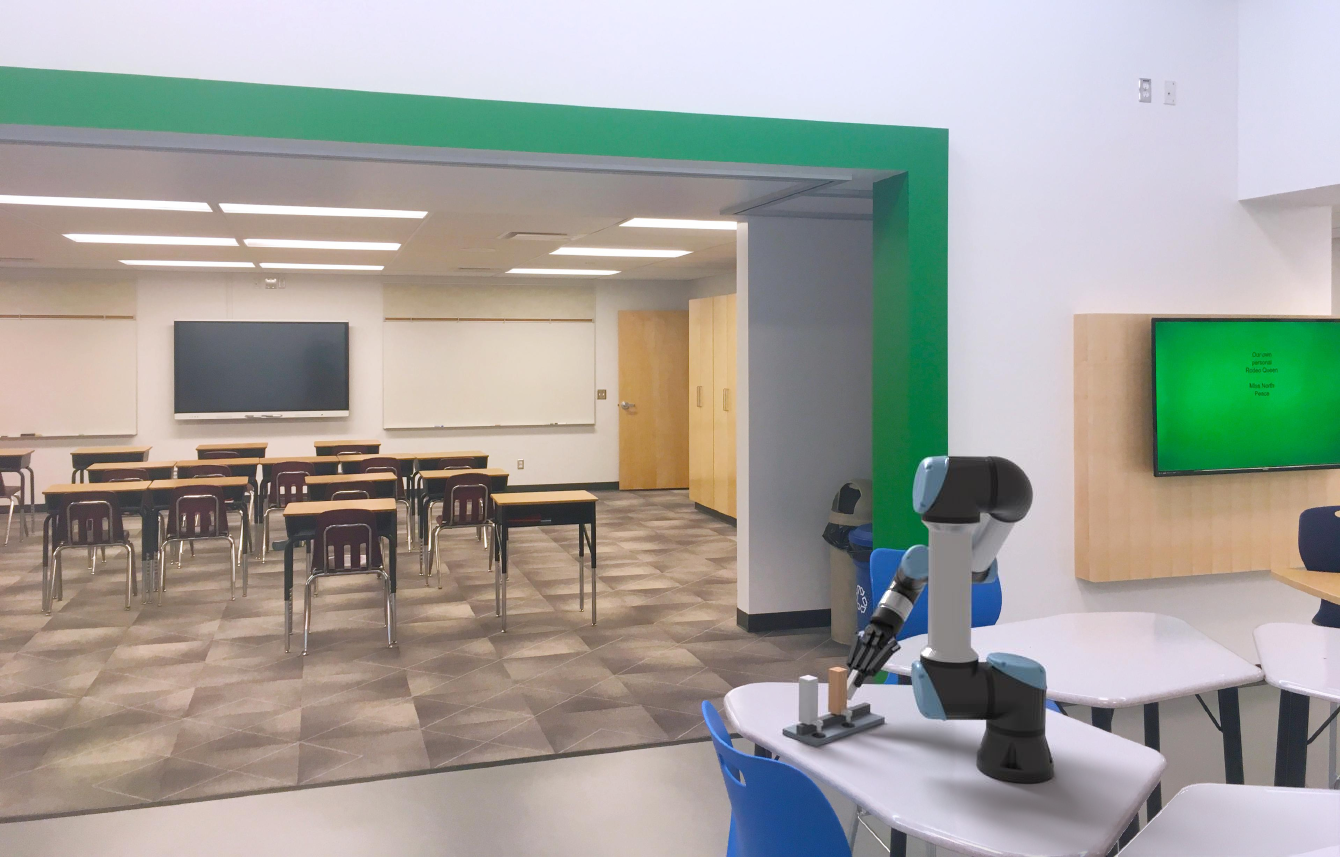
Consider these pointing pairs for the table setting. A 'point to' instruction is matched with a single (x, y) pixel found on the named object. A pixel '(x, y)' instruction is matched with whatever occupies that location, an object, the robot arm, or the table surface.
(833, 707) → the post
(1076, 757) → the table surface
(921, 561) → the robot arm
